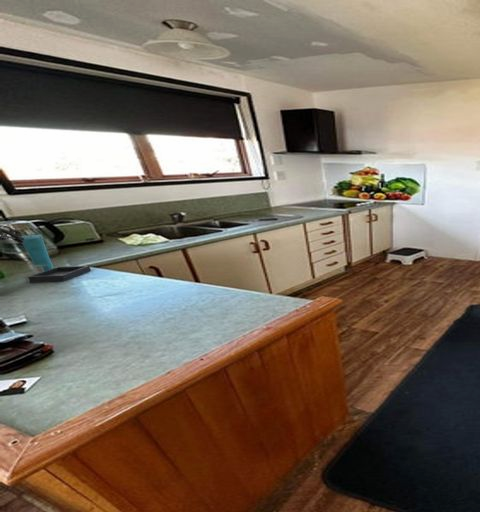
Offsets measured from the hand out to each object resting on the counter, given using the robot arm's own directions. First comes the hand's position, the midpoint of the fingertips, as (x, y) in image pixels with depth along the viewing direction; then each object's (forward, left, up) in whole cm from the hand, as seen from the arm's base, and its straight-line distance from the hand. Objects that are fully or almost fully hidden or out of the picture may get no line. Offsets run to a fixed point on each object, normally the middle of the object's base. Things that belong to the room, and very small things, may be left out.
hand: (10, 242), depth 117 cm
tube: (-1, +9, -19) cm, 21 cm away
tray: (+9, +5, -18) cm, 21 cm away
